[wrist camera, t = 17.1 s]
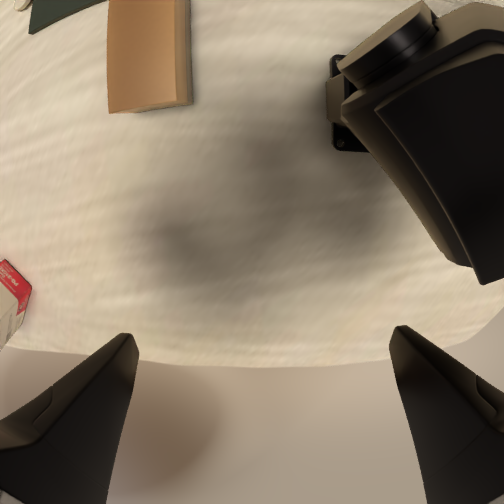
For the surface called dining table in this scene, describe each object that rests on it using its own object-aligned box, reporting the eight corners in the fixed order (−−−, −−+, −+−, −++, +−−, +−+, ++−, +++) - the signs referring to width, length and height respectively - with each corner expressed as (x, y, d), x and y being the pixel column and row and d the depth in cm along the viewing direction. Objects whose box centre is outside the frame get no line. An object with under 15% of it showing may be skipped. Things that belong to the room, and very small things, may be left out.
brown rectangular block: (190, -1, 13) (175, -25, 9) (193, 104, 16) (176, 100, 13) (134, 11, 13) (109, -7, 9) (136, 112, 16) (108, 114, 13)
